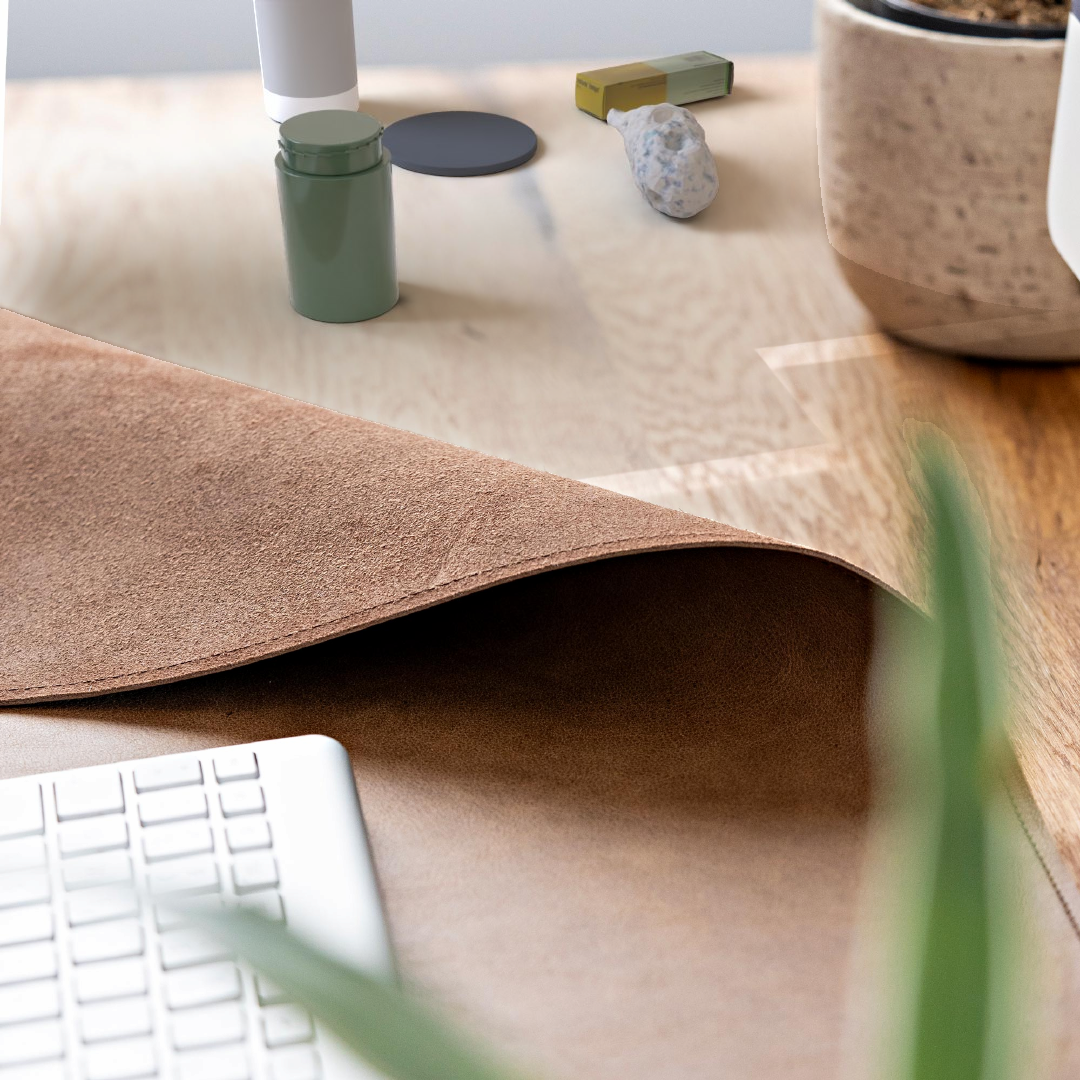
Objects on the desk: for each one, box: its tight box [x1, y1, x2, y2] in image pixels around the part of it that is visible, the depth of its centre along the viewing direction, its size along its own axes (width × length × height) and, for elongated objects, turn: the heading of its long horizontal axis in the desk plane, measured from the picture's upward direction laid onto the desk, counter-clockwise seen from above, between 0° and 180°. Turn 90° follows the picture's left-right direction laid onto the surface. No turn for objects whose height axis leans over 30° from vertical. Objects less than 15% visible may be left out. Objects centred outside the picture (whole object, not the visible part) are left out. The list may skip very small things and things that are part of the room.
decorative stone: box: [606, 103, 720, 219], centre depth 83 cm, size 13×7×5 cm, turn 12°
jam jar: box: [273, 110, 400, 324], centre depth 68 cm, size 6×6×10 cm
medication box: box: [574, 50, 735, 121], centre depth 97 cm, size 12×3×4 cm
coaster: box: [382, 110, 538, 177], centre depth 90 cm, size 11×11×1 cm
